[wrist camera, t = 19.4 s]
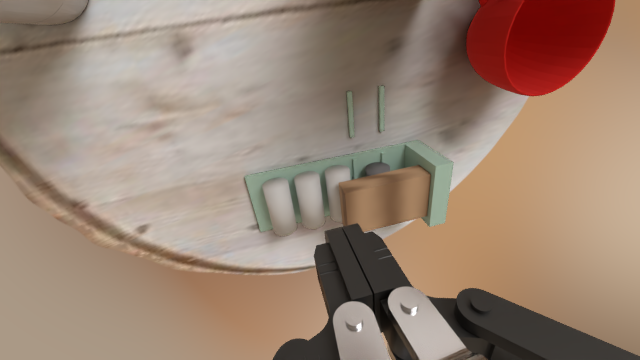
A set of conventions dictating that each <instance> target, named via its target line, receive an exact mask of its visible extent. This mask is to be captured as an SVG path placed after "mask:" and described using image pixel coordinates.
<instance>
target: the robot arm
mask: <svg viewBox="0 0 640 360" xmlns="http://www.w3.org/2000/svg"><path fill="white" fill-rule="evenodd" d="M87 3H88V0H0V23H18V24H41V25H57V24H64V23H67V22H70V21H72V20H74V19H75V18H77V17H78V16H79V15H81V13H82V12H83V11H84V9H85V8H86V6H87ZM325 239H326V243H325V244H321V245H317V246H316V249H315V254H314V258H315V264H316V269H317V275H318V280H319V284H320V287H321V291H322V294H323V298H324V302H325V305H326V309H327V313H328V316H329V319H328V323H327V324H326V326H325V327H324V329H323V330H322V331H321V332H320V333H318V334H317V335H316V336H314V337H313V338H312V339H310V340H309V341H307V340H305V339H293V340H290V341H288V342H286V343H285V344H283V345H282V346H281V347H280V349H279V350H278V351H277V353H276V355H275V356H274V358H273V360H390V357H391V359H392V360H640V356H638V355H635V354H633V353H630V352H628V351H626V350H623V349H621V348H619V347H616V346H614V345H612V344H609V343H607V342H604V341H602V340H600V339H597V338H595V337H593V336H590V335H588V334H586V333H583V332H581V331H578V330H576V329H573V328H571V327H569V326H567V325H564V324H562V323H560V322H557V321H555V320H553V319H550V318H548V317H545V316H543V315H541V314H538V313H536V312H534V311H531V310H529V309H526V308H524V307H522V306H519V305H517V304H515V303H512V302H510V301H508V300H505V299H503V298H501V297H498V296H496V295H493V294H491V293H489V292H486V291H484V290H481V289H476V288H469V289H465V290H462V291H461V292H460V293H459V294H458V296H457V299H454V298H433V297H429V296H426V295H425V294H424V293H423V292H421V291H420V290H418V289H416V288H414V287H413V286H412V285H411V284H410V282H409V281H408V279H407V277H406V276H405V274H404V273H403V271H402V270H401V268H400V267H399V265H398V263H397V262H396V260H395V259H394V257H393V256H392V254H391V252H390V251H389V249H387V246H386V245H385V243H384V242H383V240H382V238H380V237H379V236H378V235H376V234H375V233H373V232H368V233H365V234H364V233H363V231H362V229H361V227H360V225H359V224H358V223H355V224H351V225H347V226H343V227H339V228H335V229H331V230H327V231H325ZM382 332H383V333H384V335H385V338H386V340H387V342H388V343H387V347H388V352H387V349H386V346H385V344H384V341H383V338H382V335H381V333H382ZM388 353H389V355H390V357H389V355H388Z"/></svg>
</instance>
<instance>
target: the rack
mask: <svg viewBox="0 0 640 360" xmlns="http://www.w3.org/2000/svg"><path fill="white" fill-rule="evenodd" d="M347 107H348V122H349V137H350V138H351V137H355V136H354V119H353V101H352V91H348V92H347ZM379 131H380V132H382V131H384V86H383V85H382V86H379Z"/></svg>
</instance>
